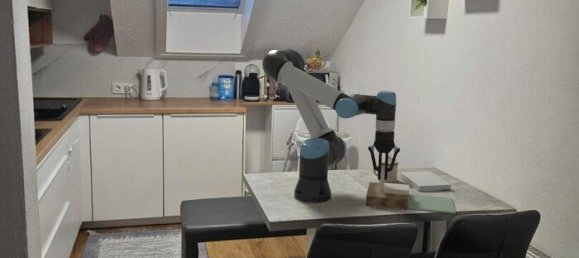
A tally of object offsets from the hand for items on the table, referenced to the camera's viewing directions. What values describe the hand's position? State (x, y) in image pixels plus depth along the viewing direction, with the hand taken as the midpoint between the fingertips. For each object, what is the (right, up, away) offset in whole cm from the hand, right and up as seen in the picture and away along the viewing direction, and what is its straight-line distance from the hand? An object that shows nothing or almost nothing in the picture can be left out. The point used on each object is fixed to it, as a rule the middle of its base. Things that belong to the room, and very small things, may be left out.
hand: (382, 187), depth 214 cm
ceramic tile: (+6, -1, -1) cm, 6 cm away
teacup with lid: (+6, 0, +29) cm, 30 cm away
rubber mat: (+19, -6, -3) cm, 20 cm away
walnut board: (+2, -5, +1) cm, 6 cm away
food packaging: (+24, -2, +26) cm, 35 cm away
